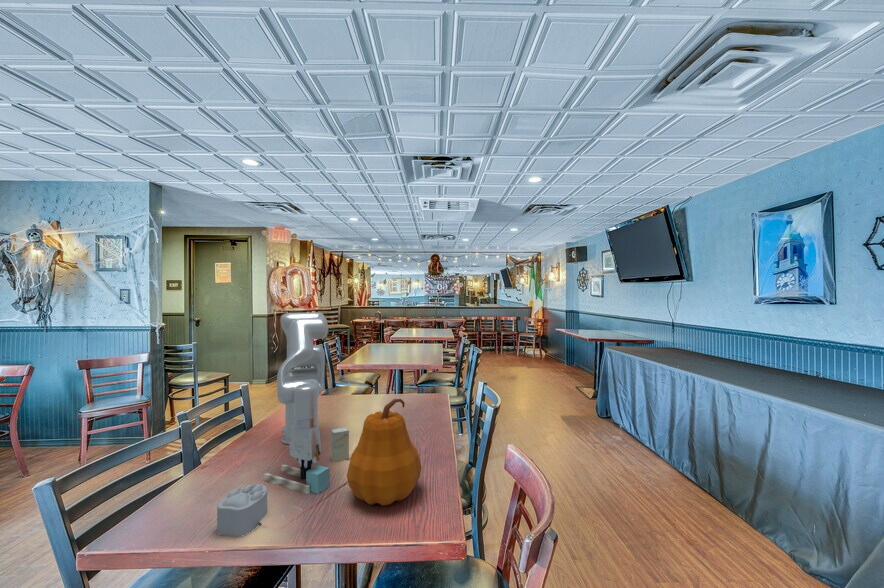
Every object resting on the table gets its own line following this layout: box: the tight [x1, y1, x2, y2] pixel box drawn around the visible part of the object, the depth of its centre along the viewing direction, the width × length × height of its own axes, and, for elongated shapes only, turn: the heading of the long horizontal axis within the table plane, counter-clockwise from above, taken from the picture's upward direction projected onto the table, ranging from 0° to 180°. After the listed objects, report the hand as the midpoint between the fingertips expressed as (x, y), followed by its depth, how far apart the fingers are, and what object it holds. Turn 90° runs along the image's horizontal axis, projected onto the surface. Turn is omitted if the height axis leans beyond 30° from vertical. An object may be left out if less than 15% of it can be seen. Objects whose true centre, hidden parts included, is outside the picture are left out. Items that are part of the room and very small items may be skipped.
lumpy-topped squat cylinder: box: [216, 483, 268, 538], centre depth 100 cm, size 10×13×9 cm
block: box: [305, 464, 330, 495], centre depth 115 cm, size 5×5×6 cm
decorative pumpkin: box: [346, 398, 422, 507], centre depth 113 cm, size 24×24×30 cm
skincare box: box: [330, 426, 350, 463], centre depth 136 cm, size 6×4×12 cm
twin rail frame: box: [263, 464, 311, 495], centre depth 119 cm, size 20×8×3 cm, turn 65°
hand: (305, 477), depth 117 cm, fingers closed
